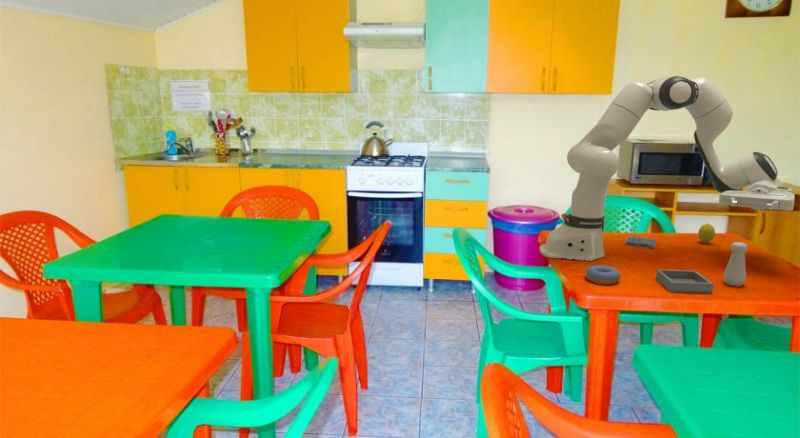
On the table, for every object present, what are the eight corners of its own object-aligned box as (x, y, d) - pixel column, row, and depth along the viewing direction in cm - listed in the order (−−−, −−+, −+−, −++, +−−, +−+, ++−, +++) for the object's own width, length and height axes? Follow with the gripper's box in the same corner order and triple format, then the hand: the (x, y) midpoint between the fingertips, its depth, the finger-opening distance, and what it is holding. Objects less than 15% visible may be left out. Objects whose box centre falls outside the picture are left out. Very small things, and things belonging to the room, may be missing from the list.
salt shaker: (747, 288, 161) (754, 246, 158) (726, 286, 162) (733, 245, 159) (739, 281, 166) (746, 241, 163) (719, 280, 167) (725, 240, 164)
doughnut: (601, 272, 174) (602, 259, 172) (626, 283, 165) (627, 269, 164) (578, 279, 170) (579, 266, 168) (603, 291, 161) (604, 277, 160)
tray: (670, 292, 157) (671, 282, 157) (655, 278, 169) (656, 269, 168) (712, 293, 156) (713, 283, 156) (694, 279, 168) (695, 270, 167)
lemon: (713, 246, 204) (716, 225, 202) (696, 244, 207) (699, 223, 205) (713, 242, 208) (716, 222, 207) (697, 240, 211) (700, 220, 209)
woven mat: (656, 243, 209) (657, 238, 208) (653, 250, 200) (654, 245, 199) (628, 240, 214) (628, 235, 213) (623, 246, 205) (624, 241, 205)
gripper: (725, 184, 184) (714, 192, 174) (798, 189, 170) (791, 198, 160) (723, 202, 185) (712, 211, 176) (796, 208, 172) (789, 219, 162)
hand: (750, 205), depth 168 cm, fingers open, 8 cm apart
